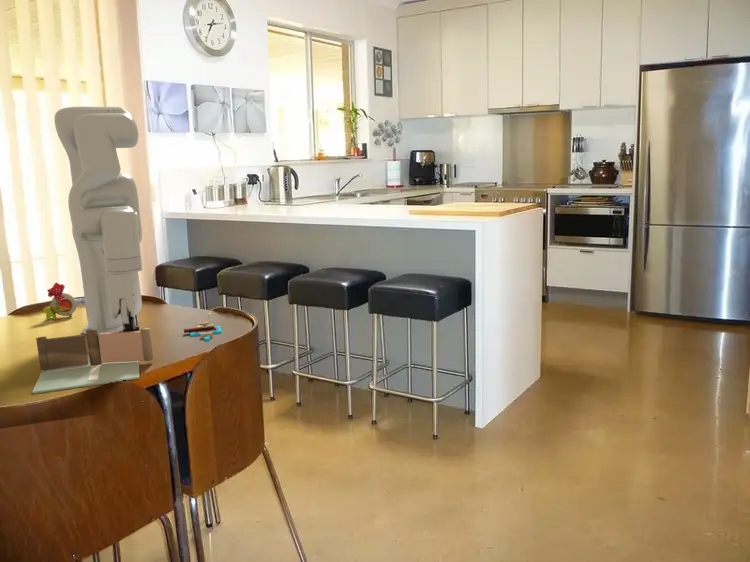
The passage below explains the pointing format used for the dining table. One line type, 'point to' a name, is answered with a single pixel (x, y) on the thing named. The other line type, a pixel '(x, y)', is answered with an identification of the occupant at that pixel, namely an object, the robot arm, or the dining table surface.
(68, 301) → the bird rattle
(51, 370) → the card
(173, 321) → the dining table surface
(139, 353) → the pink rectangular panel
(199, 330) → the gear mechanism
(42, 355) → the fence fixed
